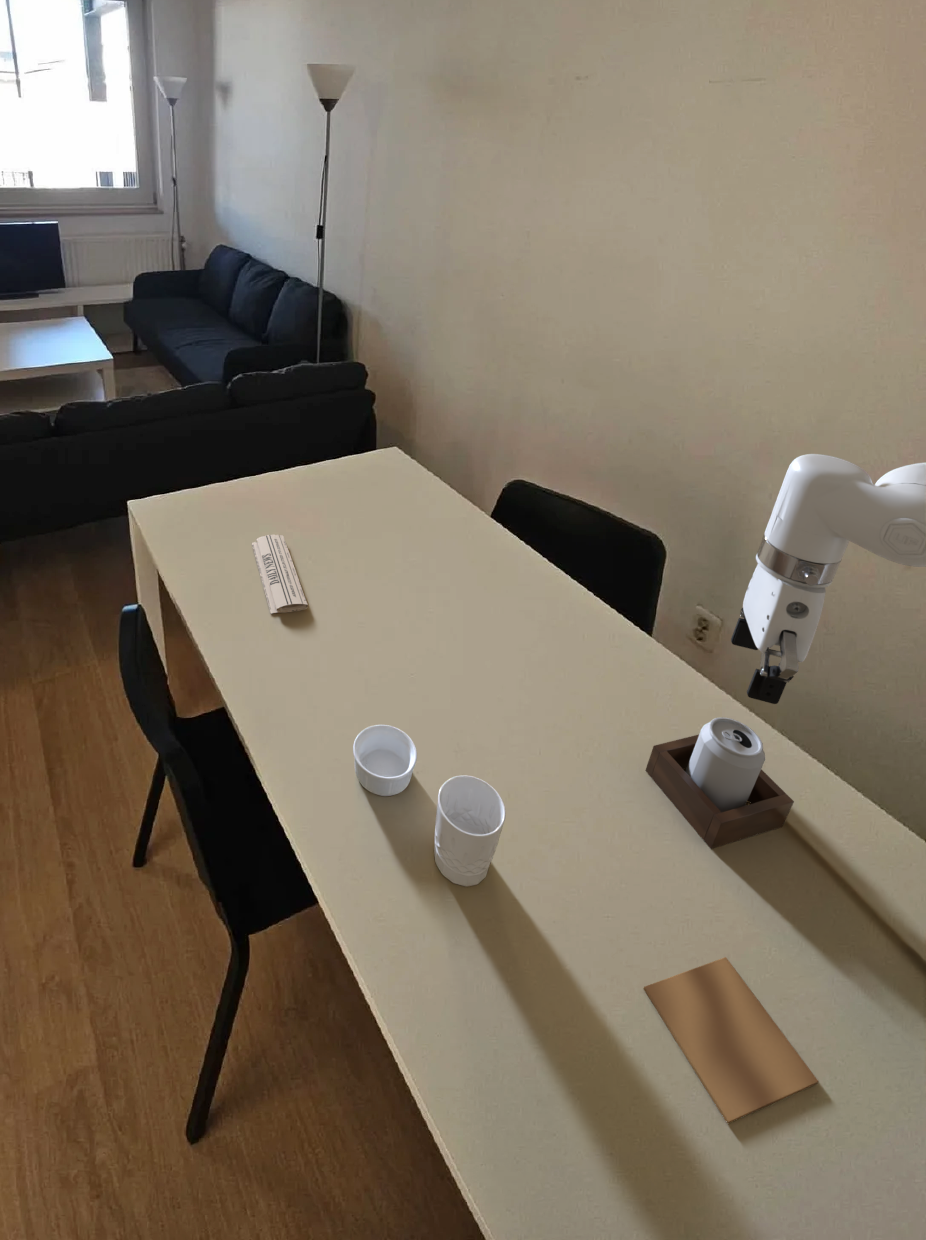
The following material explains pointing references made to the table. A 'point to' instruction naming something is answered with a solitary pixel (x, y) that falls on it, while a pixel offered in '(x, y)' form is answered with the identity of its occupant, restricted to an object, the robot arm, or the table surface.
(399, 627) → the table surface
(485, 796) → the white cup
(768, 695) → the robot arm
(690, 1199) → the table surface
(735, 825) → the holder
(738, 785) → the can
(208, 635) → the table surface
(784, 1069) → the coaster
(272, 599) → the newspaper
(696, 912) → the table surface
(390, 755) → the ramekin
